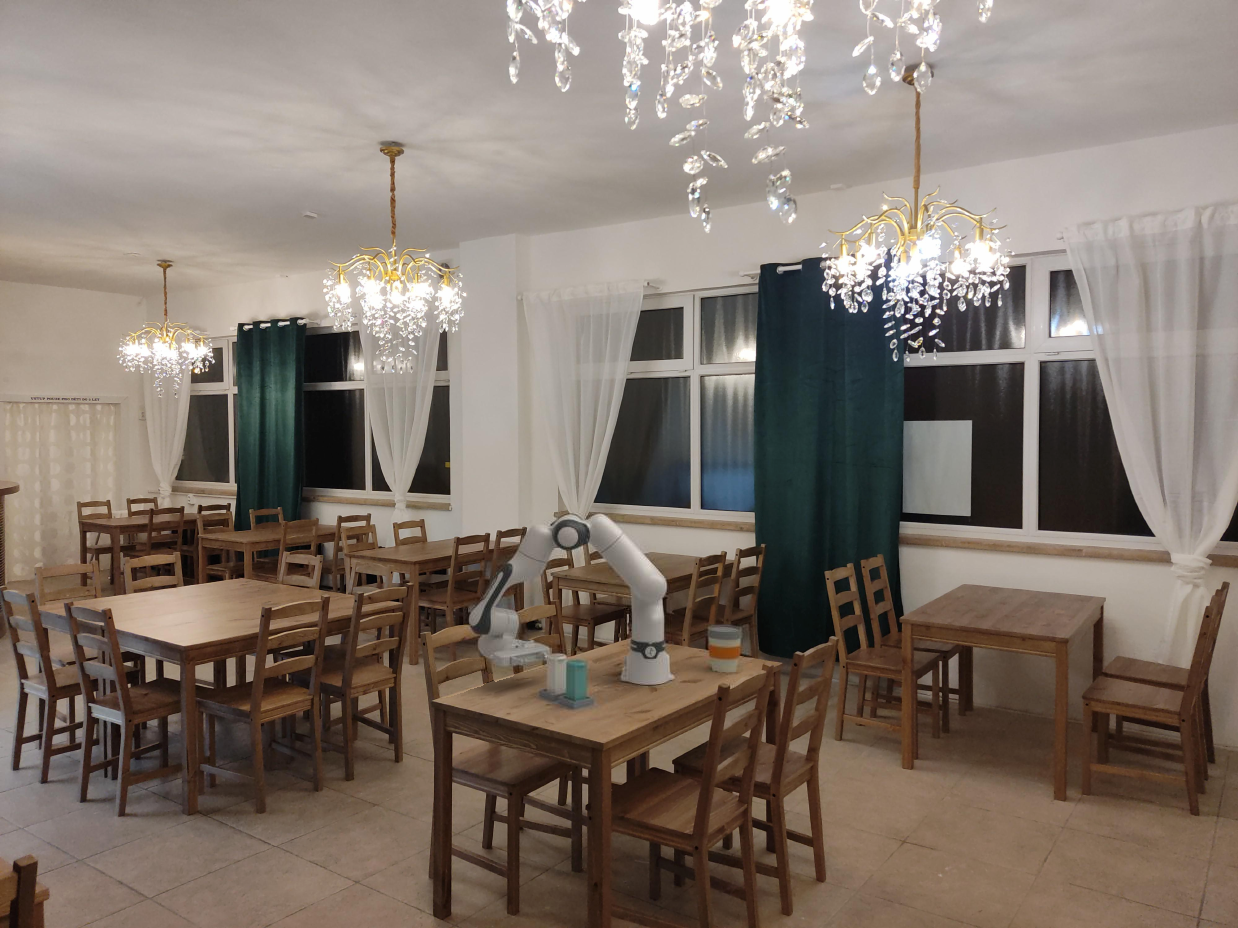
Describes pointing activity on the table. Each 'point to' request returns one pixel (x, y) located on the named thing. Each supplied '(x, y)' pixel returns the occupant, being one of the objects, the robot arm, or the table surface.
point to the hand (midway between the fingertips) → (535, 660)
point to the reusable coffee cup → (724, 647)
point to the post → (556, 673)
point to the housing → (566, 700)
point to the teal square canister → (576, 680)
